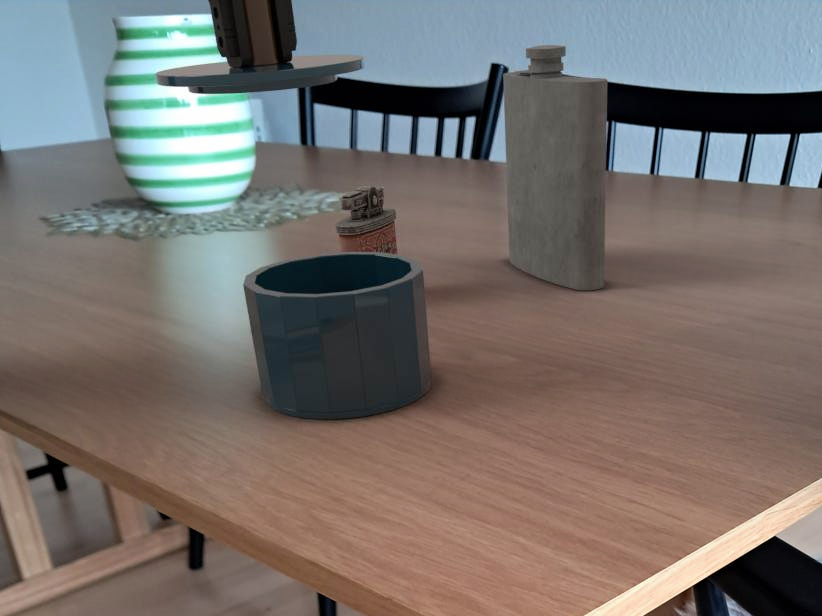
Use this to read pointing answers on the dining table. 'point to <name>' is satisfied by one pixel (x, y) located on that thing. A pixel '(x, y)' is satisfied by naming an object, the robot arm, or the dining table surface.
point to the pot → (340, 333)
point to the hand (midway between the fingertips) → (260, 62)
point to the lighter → (367, 222)
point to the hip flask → (556, 171)
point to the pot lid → (260, 64)
